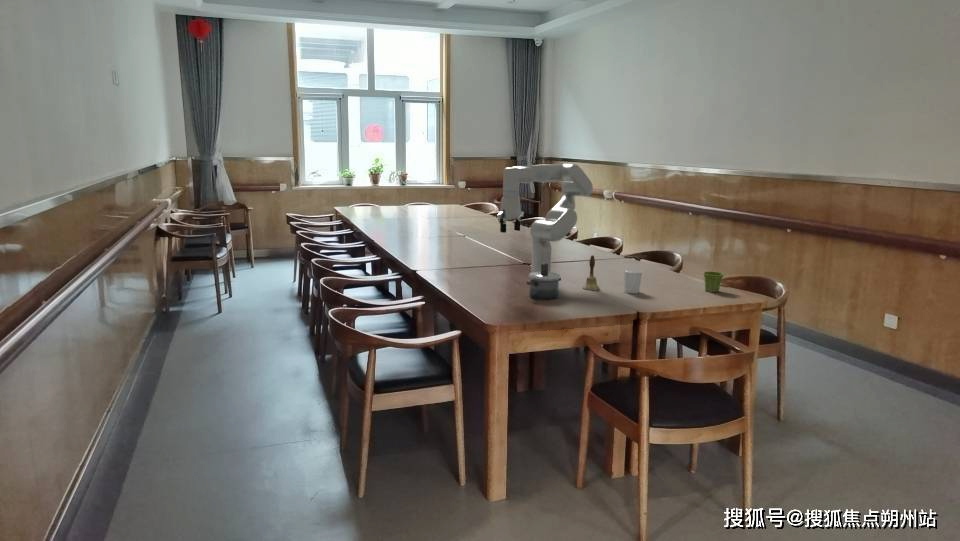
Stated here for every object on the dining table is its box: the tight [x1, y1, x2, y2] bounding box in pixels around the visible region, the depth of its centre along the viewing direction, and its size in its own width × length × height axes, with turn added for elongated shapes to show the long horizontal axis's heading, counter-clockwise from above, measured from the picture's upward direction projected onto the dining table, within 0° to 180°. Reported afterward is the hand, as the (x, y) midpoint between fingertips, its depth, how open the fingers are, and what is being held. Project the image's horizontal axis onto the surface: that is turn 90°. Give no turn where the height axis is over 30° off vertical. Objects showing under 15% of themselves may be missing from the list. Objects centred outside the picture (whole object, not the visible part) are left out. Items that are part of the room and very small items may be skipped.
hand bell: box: [582, 255, 601, 291], centre depth 308 cm, size 8×8×16 cm
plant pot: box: [702, 271, 725, 293], centre depth 306 cm, size 9×9×9 cm
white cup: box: [623, 269, 643, 294], centre depth 302 cm, size 8×8×10 cm
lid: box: [528, 263, 561, 280], centre depth 290 cm, size 14×14×6 cm
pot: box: [526, 277, 562, 301], centre depth 292 cm, size 18×13×9 cm
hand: (510, 231), depth 299 cm, fingers open, 9 cm apart
